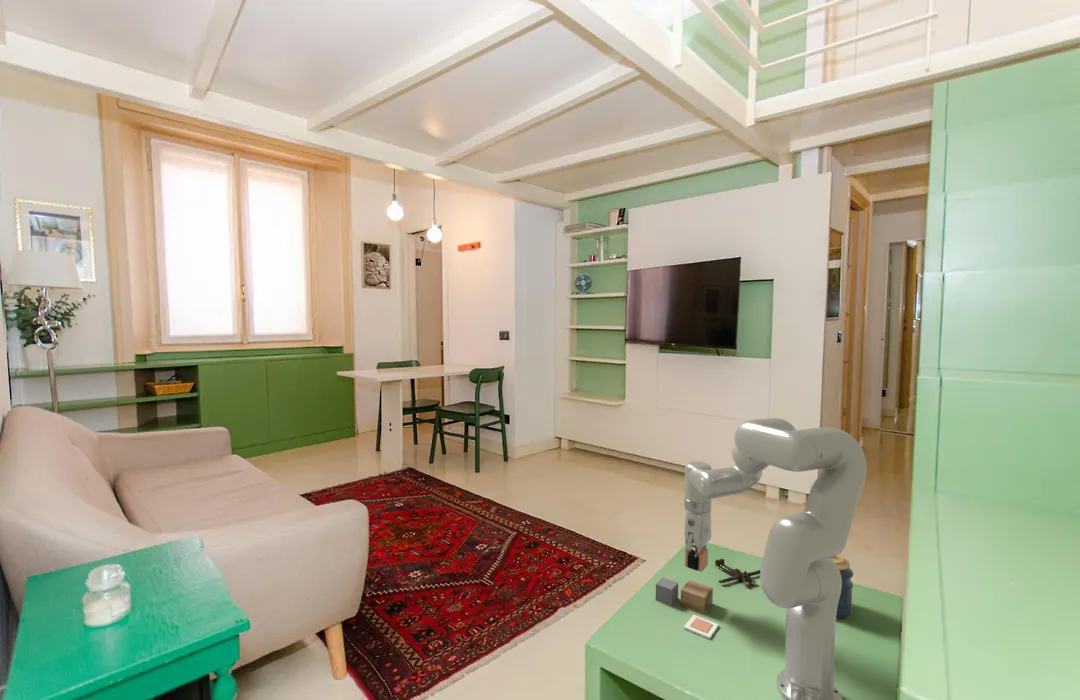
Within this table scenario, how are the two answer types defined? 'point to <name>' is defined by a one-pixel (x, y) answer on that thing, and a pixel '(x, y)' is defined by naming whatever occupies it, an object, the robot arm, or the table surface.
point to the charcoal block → (666, 591)
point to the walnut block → (696, 596)
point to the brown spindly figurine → (736, 574)
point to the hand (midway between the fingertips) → (696, 564)
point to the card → (701, 626)
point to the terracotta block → (700, 558)
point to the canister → (844, 587)
